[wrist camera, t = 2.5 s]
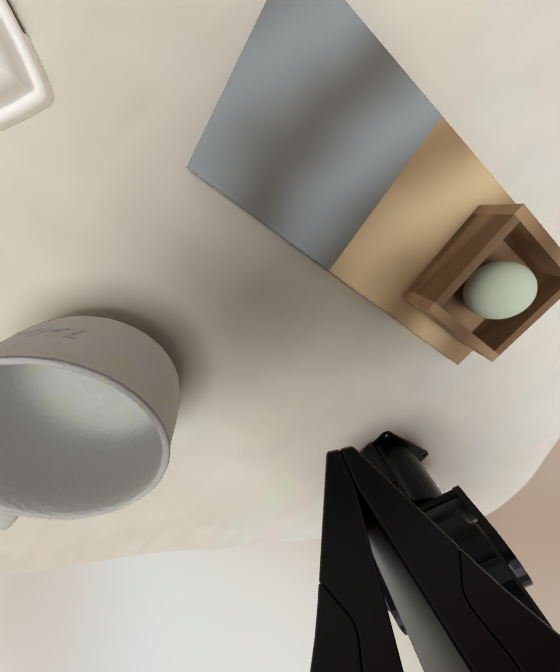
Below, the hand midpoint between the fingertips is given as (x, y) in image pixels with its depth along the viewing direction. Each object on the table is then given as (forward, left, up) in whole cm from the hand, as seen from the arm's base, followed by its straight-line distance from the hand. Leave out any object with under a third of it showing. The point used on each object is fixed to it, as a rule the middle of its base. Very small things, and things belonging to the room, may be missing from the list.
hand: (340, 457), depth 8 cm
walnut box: (-9, -9, -11) cm, 17 cm away
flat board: (-2, -9, -12) cm, 16 cm away
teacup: (+9, +12, -13) cm, 19 cm away
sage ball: (-9, -9, -9) cm, 16 cm away
